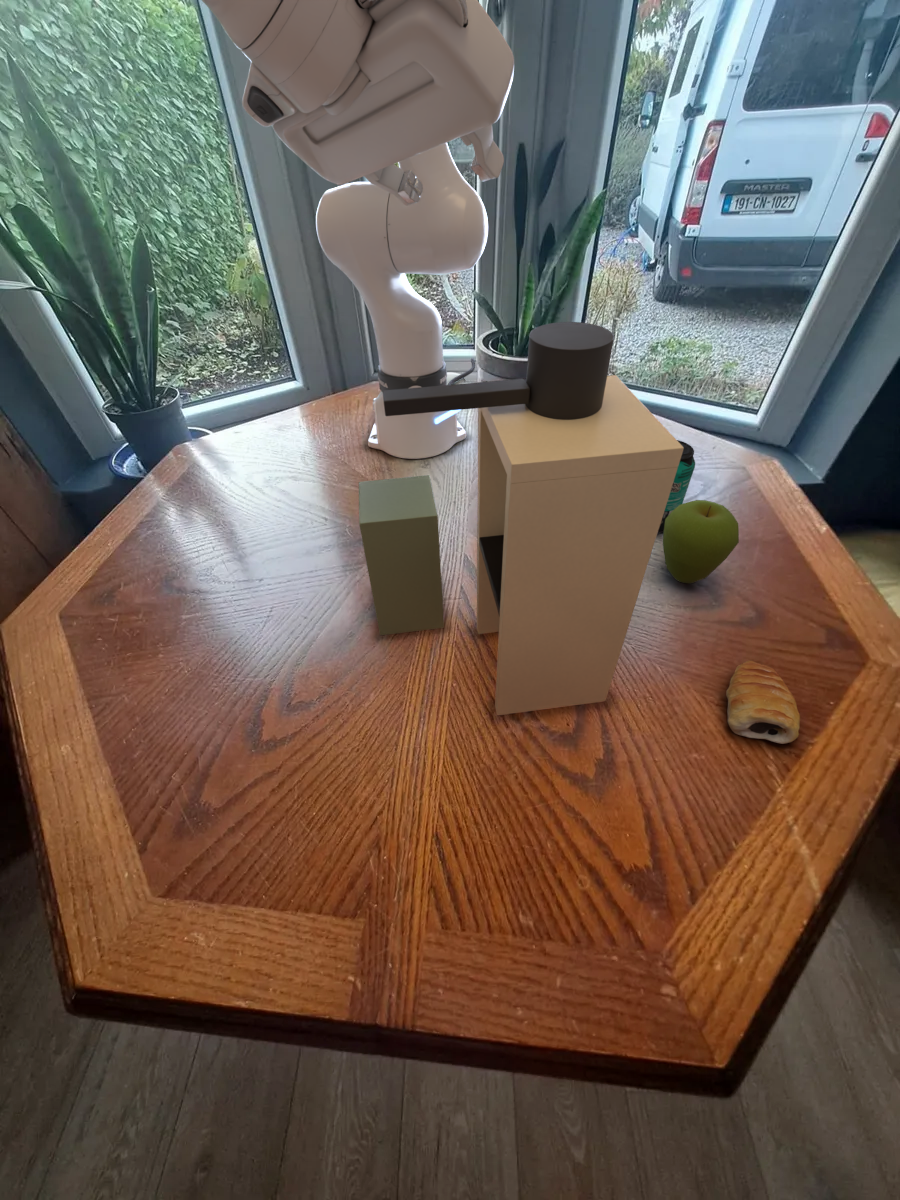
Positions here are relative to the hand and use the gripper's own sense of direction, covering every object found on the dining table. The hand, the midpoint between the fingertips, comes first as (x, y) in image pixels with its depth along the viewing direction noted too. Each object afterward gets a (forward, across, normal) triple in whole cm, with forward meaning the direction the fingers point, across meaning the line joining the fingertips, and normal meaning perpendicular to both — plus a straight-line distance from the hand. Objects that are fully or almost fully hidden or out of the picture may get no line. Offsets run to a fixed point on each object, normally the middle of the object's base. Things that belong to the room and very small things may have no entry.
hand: (452, 185), depth 44 cm
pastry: (+37, -28, +34) cm, 58 cm away
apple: (+45, -14, +22) cm, 52 cm away
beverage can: (+50, -4, +14) cm, 52 cm away
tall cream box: (+26, -8, +37) cm, 46 cm away
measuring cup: (+3, -10, +17) cm, 20 cm away
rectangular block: (+20, +9, +37) cm, 44 cm away
